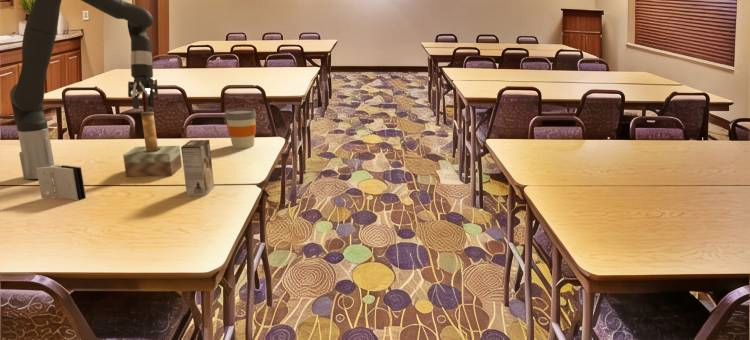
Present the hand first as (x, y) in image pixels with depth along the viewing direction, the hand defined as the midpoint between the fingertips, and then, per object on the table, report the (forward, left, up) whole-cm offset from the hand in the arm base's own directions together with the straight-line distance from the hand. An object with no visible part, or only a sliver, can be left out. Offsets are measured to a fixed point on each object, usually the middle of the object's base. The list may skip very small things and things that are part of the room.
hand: (143, 108), depth 217 cm
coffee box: (+29, -38, -21) cm, 52 cm away
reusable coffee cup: (+31, +24, -21) cm, 45 cm away
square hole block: (+6, -13, -21) cm, 26 cm away
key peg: (+6, -13, -16) cm, 22 cm away
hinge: (-13, -41, -21) cm, 48 cm away
